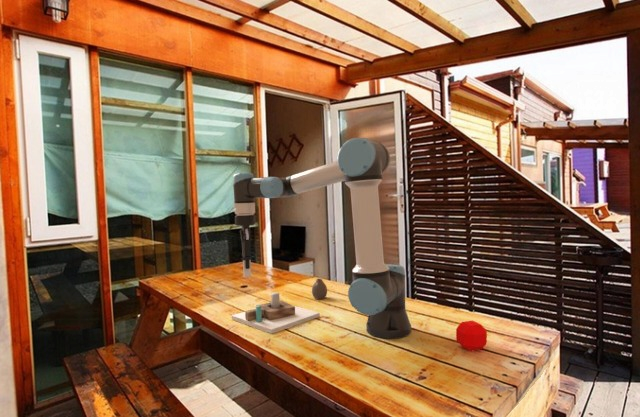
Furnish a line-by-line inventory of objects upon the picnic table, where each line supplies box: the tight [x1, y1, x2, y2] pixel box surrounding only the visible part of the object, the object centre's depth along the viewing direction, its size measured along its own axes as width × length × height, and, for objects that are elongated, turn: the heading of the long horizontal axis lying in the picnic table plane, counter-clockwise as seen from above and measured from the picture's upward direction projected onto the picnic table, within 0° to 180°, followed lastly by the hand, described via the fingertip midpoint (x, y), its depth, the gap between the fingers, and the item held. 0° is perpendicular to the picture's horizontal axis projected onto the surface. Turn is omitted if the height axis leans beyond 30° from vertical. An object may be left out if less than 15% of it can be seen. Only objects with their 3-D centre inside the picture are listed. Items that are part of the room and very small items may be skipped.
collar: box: [244, 300, 295, 321], centre depth 151 cm, size 18×11×3 cm, turn 123°
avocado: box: [311, 278, 328, 300], centre depth 179 cm, size 7×7×9 cm
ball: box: [455, 320, 488, 352], centre depth 120 cm, size 8×8×8 cm
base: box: [231, 292, 321, 334], centre depth 152 cm, size 24×24×10 cm
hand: (247, 276), depth 149 cm, fingers closed
